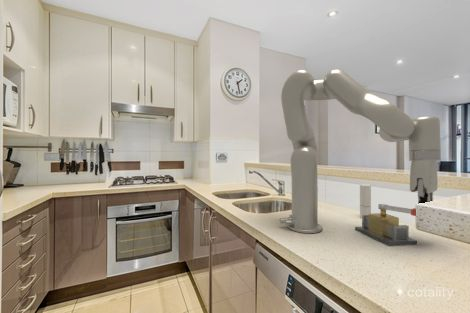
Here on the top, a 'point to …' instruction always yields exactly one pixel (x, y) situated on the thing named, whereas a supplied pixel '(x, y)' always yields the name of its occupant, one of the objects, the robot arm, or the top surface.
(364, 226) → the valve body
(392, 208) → the valve lever
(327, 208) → the top surface
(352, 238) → the top surface
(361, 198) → the tube
